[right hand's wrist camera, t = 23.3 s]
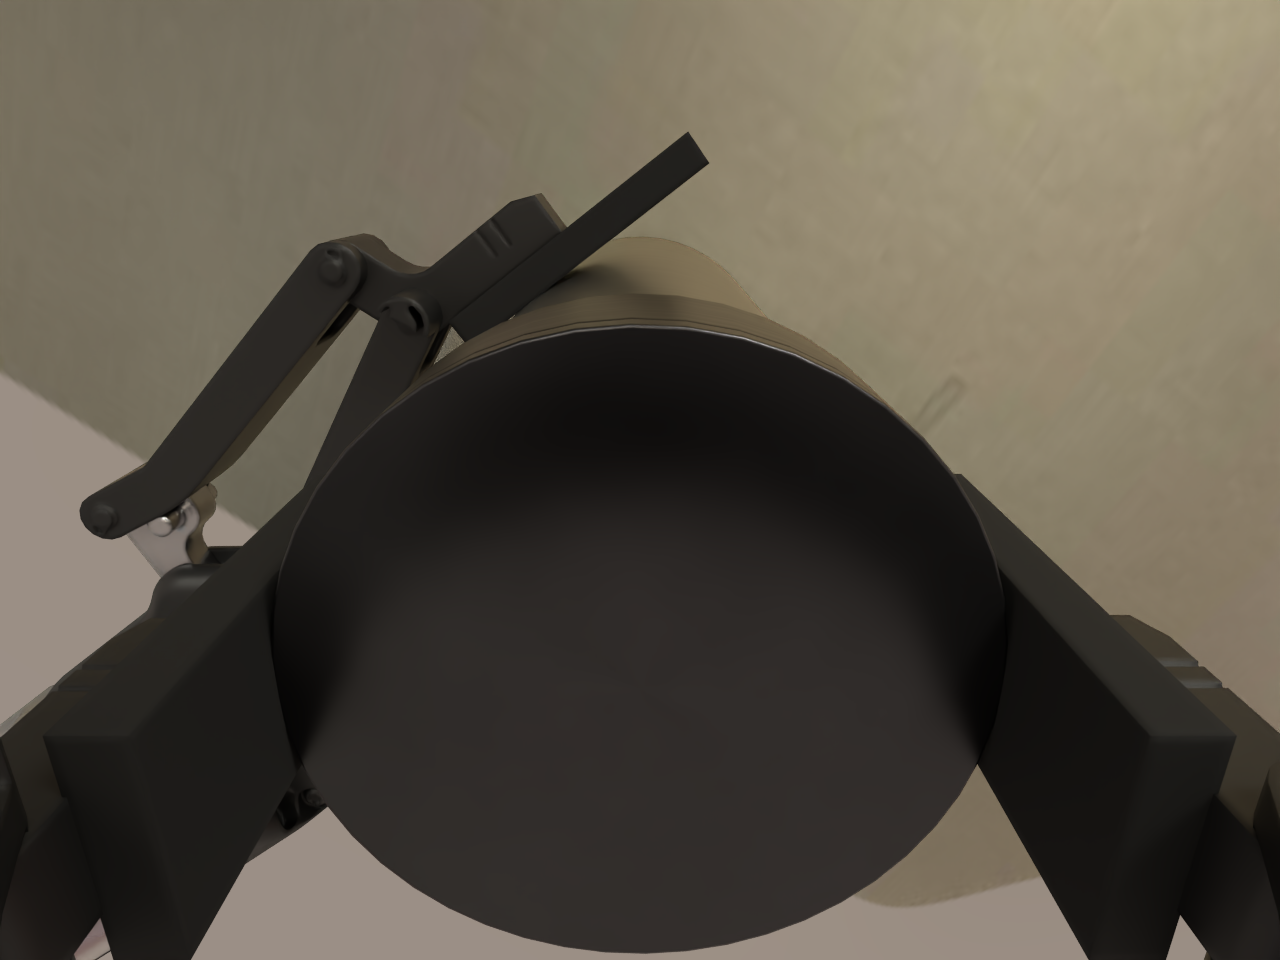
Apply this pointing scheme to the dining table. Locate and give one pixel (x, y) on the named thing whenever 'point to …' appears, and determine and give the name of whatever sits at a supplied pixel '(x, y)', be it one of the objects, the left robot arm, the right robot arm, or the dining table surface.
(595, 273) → the jar
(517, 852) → the lid
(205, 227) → the dining table surface
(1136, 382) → the dining table surface
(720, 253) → the dining table surface
